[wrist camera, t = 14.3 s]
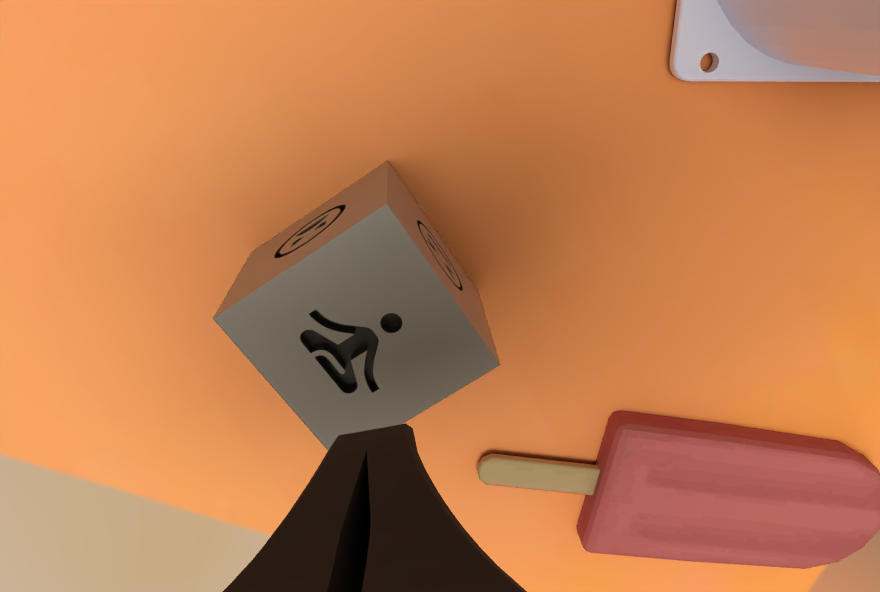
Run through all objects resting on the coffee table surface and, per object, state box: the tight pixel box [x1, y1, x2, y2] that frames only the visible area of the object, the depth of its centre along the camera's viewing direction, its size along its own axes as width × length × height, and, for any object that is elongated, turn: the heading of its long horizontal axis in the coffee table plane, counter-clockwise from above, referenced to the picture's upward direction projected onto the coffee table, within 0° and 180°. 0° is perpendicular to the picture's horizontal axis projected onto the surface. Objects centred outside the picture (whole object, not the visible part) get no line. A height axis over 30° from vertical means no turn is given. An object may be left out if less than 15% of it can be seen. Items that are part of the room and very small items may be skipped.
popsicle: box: [478, 411, 880, 569], centre depth 25 cm, size 5×2×15 cm
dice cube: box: [213, 161, 500, 450], centre depth 19 cm, size 5×5×5 cm
